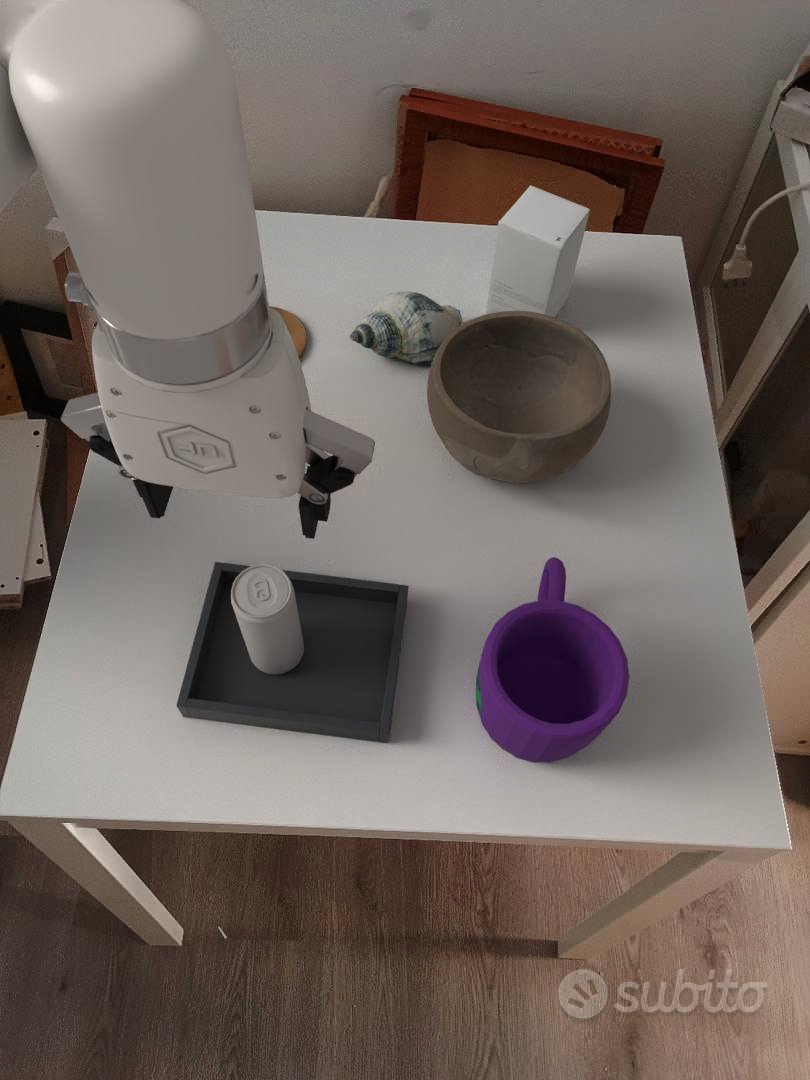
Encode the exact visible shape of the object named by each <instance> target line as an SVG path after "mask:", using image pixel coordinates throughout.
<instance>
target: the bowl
mask: <svg viewBox="0 0 810 1080" xmlns="http://www.w3.org/2000/svg"><path fill="white" fill-rule="evenodd" d="M611 381H612V380H611V373H610V369H609V366H608V363H607V360H606V358H605V355H604V354H603V352H602V350H601V349H600V348H599V346H598V345H597V343H596V342H595V341H594V340H593V339H592V338H591V337H590V336H589V335H588V334H587V333H585V332H584V330H581V328H579V327H577V326H575V325H574V324H572V323H569V322H568V321H565V320H564V319H561V318H558V317H556V316H555V317H552V316H547V315H545V314H540V313H536V312H529V311H503V312H496V313H491V314H487V313H486V314H483V315H480V316H477V317H474V318H471V319H469V320H467V321H466V322H464V323H461V325H460V326H459V327H458V328H456V329H455V330H453V331H452V332H451V333H450V334H449V335H448V336H447V337H446V338H445V339H444V340H443V342H442V344H441V345H440V347H439V348H438V350H437V352H436V354H435V356H434V359H433V361H432V364H431V365H430V368H429V372H428V378H427V385H426V387H427V388H426V401H427V406H428V412H429V417H430V420H431V424H432V425H433V427H434V429H435V432H436V434H437V435H438V437H439V439H440V440H441V442H442V444H443V445H444V447H445V449H446V451H448V452H449V455H450V456H451V457H452V458H453V459H454V460H455V461H456V462H457V463H459V465H461V467H463V468H464V469H466V470H468V471H469V472H471V473H473V474H475V475H478V476H479V477H484V478H487V479H491V480H498V481H502V482H503V481H504V482H507V483H520V484H521V483H523V484H524V483H526V484H527V483H536V482H542V481H546V480H549V479H552V478H554V477H557V476H560V475H561V474H563V473H564V472H566V471H568V470H569V469H571V468H572V467H574V466H575V465H577V464H578V463H579V462H581V460H583V459H584V458H585V457H586V456H587V455H589V453H590V452H591V450H592V449H593V447H594V446H595V445H596V444H597V442H598V441H599V439H600V437H601V435H602V434H603V432H604V431H605V428H606V426H607V422H608V419H609V415H610V409H611V403H612V383H611Z"/></svg>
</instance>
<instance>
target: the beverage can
mask: <svg viewBox="0 0 810 1080" xmlns="http://www.w3.org/2000/svg"><path fill="white" fill-rule="evenodd" d="M250 566H251V567H248V568H247V569H245V570H244V571H242V572H241V573H240V574H239V575H238V576H237V577H236V579H235V581H234V582H233V585H232V589H231V603H232V606H233V609H234V612H235V615H236V617H237V620H238V623H239V626H240V629H241V632H242V635H243V638H244V641H245V644H246V646H247V649H248V652H249V655H250V658H251V661H252V663H253V664H254V665H255V667H257V668H258V669H259V670H260V671H262V672H265V673H267V674H283V673H285V672H288V671H290V670H291V669H293V668H294V667H295V666H296V665H297V664H298V663H299V662H300V660H301V658H302V656H303V652H304V642H303V637H302V631H301V626H300V621H299V615H298V609H297V604H296V598H295V593H294V588H293V585H292V583H291V581H290V579H289V578H288V576H287V575H286V574H285V572H284V571H282V570H283V569H281V568H279V567H278V566H275V565H273V564H266V563H259V564H254V565H250Z"/></svg>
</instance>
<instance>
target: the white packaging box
mask: <svg viewBox="0 0 810 1080" xmlns="http://www.w3.org/2000/svg"><path fill="white" fill-rule="evenodd" d="M590 211H591V208H588V207H586V206H584V205H581V204H578V203H576V202H573V201H570V200H568V199H566V198H564V197H560V196H558V195H556V194H553V193H551V192H548V191H546V190H544V189H541V188H539V187H536V186H533V185H531V184H530V185H529V186H528V187H527V188H526V190H525V191H524V192H523V193H522V194H521V196H519V198H518V199H517V200H516V201H515V202H514V204H513V205H512V206H511V207H510V208H509V209H508V210H507V211H506V213H505V214H504V215H503V216H502V217H501V218H500V219H499V221H498V223H497V233H496V239H495V247H494V252H493V260H492V266H491V274H490V281H489V286H488V287H489V288H488V296H487V301H486V302H487V304H486V311H485V313H486V315H487V314H491V313H496V312H503V311H529V312H536V313H540V314H545V315H547V316H552V317H555V318H556V316H557V315H558V314H559V312H560V311H561V310H562V308H563V307H564V306H565V304H566V303H567V301H568V300H569V299H568V298H569V295H570V291H571V287H572V283H573V279H574V275H575V271H576V267H577V263H578V260H579V255H580V251H581V248H582V244H583V239H584V237H585V232H586V228H587V224H588V220H589V216H590V213H591V212H590Z"/></svg>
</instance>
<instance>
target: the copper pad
mask: <svg viewBox="0 0 810 1080" xmlns="http://www.w3.org/2000/svg"><path fill="white" fill-rule="evenodd" d="M269 308H272V309H275V310H277V311H278V312H279V313H280V315H281V317H282V319H283V321H284V323H285V325H286V327H287V329H288V331H289V333H290V336H291V338H292V340H293V343H294V345H295V348H296V351H297V354H298V357H299V360H300V359H301V358H302V357H303V355H304V353H305V352H306V348H307V342H308V340H307V339H308V338H307V332H306V328H305V326H304V325H303V323H302V321H301V320H300V319H299V318H298V317H297V316H296V315H295V314H293V313H291V312H290V311H288V310H286V309H283V308H282V307H281V308H280V307H277V306H272V305H269Z"/></svg>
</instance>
